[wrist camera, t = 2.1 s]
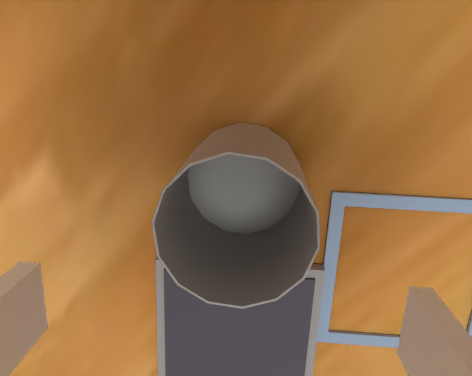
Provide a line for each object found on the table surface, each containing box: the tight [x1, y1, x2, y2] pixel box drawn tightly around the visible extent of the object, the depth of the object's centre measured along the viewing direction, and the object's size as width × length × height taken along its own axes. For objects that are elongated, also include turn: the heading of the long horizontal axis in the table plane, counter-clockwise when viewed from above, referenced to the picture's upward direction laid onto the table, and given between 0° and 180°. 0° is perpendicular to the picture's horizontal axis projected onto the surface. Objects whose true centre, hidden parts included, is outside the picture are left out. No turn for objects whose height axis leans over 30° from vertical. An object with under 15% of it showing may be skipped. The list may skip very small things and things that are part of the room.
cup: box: [152, 122, 320, 309], centre depth 24 cm, size 8×8×10 cm
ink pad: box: [155, 257, 325, 376], centre depth 32 cm, size 13×13×1 cm
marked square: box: [317, 191, 472, 348], centre depth 30 cm, size 13×13×1 cm
